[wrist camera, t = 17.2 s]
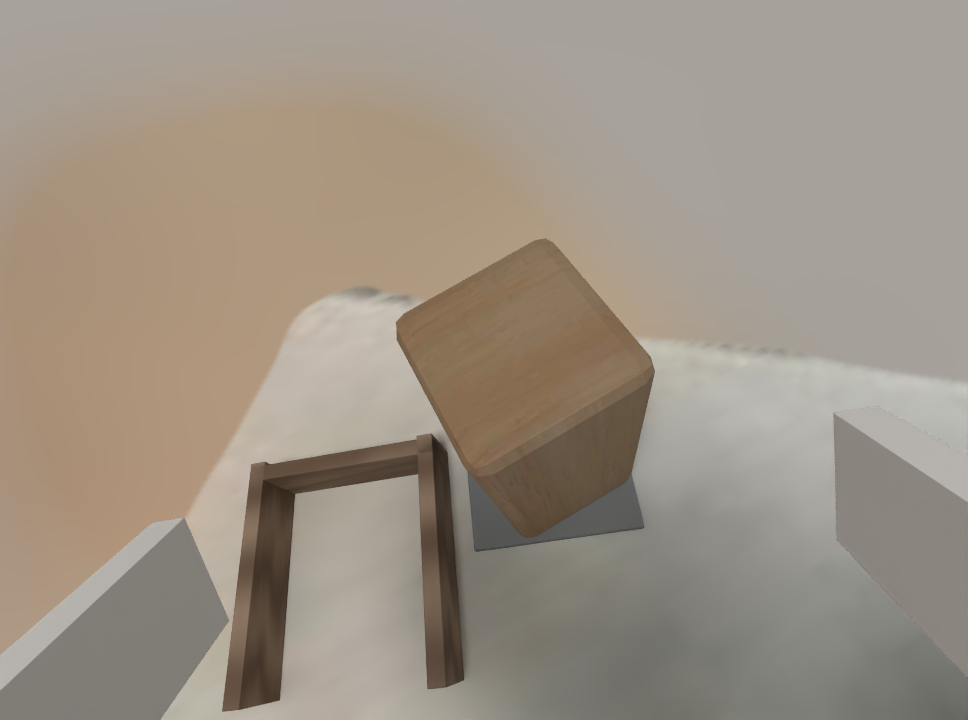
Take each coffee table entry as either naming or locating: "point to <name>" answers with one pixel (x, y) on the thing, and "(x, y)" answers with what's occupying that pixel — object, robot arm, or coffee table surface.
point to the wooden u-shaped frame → (269, 560)
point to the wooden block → (532, 384)
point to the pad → (593, 519)
